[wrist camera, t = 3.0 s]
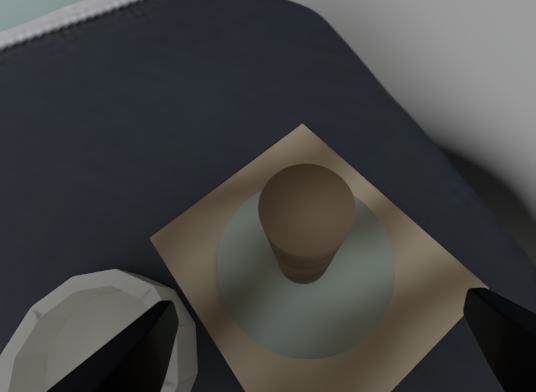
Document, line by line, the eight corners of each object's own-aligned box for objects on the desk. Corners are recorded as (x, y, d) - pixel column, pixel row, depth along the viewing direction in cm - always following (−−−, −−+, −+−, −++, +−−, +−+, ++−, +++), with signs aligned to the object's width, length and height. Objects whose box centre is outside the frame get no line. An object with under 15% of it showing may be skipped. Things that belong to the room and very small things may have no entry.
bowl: (228, 378, 18) (214, 390, 15) (75, 517, 16) (24, 562, 13) (148, 247, 22) (125, 237, 19) (19, 346, 20) (-30, 351, 17)
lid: (429, 271, 19) (580, 221, 9) (295, 403, 17) (288, 541, 7) (307, 158, 23) (314, 37, 13) (189, 251, 21) (88, 193, 11)
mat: (486, 288, 18) (489, 288, 18) (302, 480, 15) (302, 483, 15) (302, 125, 25) (302, 123, 25) (151, 239, 22) (149, 238, 22)
